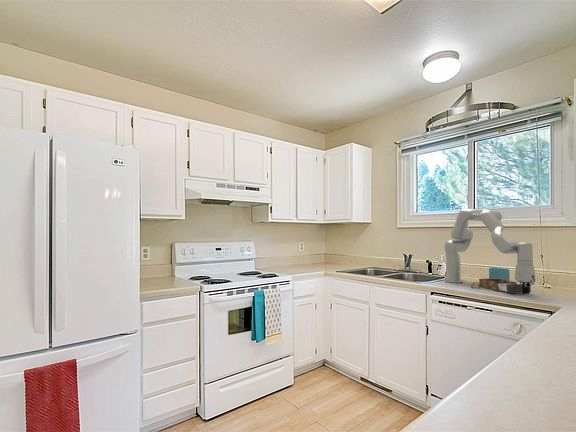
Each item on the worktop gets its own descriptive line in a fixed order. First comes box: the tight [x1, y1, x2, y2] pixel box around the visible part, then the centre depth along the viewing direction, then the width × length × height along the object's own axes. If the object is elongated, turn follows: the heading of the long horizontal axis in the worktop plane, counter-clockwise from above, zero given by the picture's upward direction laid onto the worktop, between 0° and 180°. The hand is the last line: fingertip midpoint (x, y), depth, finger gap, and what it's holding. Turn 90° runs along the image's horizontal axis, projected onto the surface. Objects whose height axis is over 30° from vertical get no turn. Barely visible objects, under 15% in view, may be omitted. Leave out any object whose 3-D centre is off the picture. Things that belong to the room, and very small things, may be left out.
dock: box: [478, 278, 518, 292], centre depth 207 cm, size 16×14×6 cm
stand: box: [470, 281, 480, 289], centre depth 210 cm, size 5×5×4 cm
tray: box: [498, 283, 532, 294], centre depth 198 cm, size 16×15×5 cm
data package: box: [488, 266, 511, 281], centre depth 224 cm, size 12×4×12 cm, turn 51°
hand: (525, 293), depth 186 cm, fingers closed
